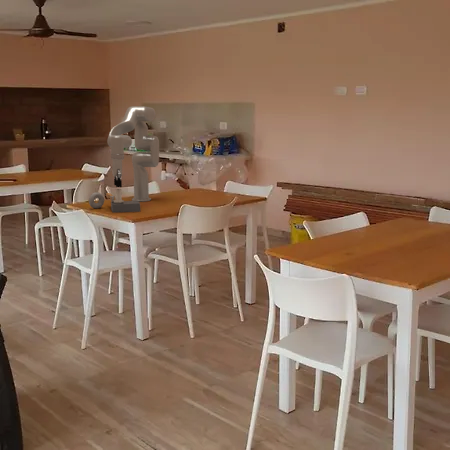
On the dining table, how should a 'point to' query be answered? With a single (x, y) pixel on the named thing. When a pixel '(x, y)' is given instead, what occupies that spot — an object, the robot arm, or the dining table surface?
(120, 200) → the plug
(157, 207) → the dining table surface
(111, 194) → the clip
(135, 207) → the socket block
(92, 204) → the donut
